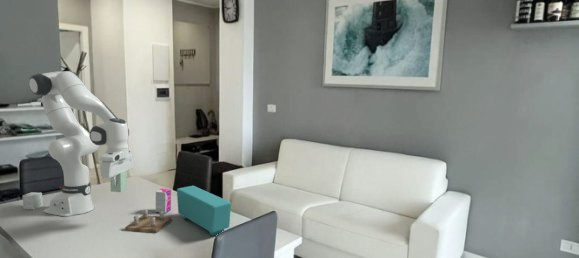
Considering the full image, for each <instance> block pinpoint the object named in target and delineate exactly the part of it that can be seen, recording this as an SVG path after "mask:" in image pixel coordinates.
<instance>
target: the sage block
mask: <svg viewBox="0 0 579 258" xmlns="http://www.w3.org/2000/svg"><path fill="white" fill-rule="evenodd" d="M109 179H110V178H109ZM115 179H116V181H117V184H116V185H112V181H111V179H110V192H113V193H123V192H124V191H126V190H128V171H123V172H121V173H119V175H116V178H115Z"/></svg>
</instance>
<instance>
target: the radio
mask: <svg viewBox="0 0 579 258" xmlns="http://www.w3.org/2000/svg"><path fill="white" fill-rule="evenodd" d="M176 196H177V198H176V199H177V212H178V214H179V215H181V216H183V220H186V219H189V221H191V222H193V223H194V224H196V225H198V226H200V227H201V228H202V229H205V230H207V231H208V233H209V235H211V236H214V235H219V234H218V233H220V232H222V231H224V232H225V229H229V228H230V224H231V210H232V202H231V201H228V199H227V200H226V199H224V198H222V197H220V196H218V195H215V194H213V193H210V192H209V191H206V190H204V189H201V188H200V187H197V186H195V185H189V186H184V187H180V188H179V187H178V188H177V189H176ZM220 234H221V233H220Z"/></svg>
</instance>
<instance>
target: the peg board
mask: <svg viewBox="0 0 579 258" xmlns="http://www.w3.org/2000/svg"><path fill="white" fill-rule="evenodd" d="M142 212H143V215H141V216H140V217H139V215H135V216H133V221H132V222H131V223H130V224H127V225H126V226H125V229H124V230H125V231H129V232H141V233H151V234H157V233H158V232H160V231H161V230H162V229H163V228H164V227H166V226H167V225H168V224H169V223H170V222H171V221H172V217H171V216H165V214H164V211H159V213H158V214H159V216H157V215H149V213H148V212H149V211H148V209H143V210H142Z"/></svg>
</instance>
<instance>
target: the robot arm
mask: <svg viewBox="0 0 579 258" xmlns="http://www.w3.org/2000/svg"><path fill="white" fill-rule="evenodd" d="M28 86H29V89H30V91H31V92H32V94H34V95H36V96H40V97H41V96H42V97H41V101H42V107H43V110H44V112H45V114H46V117H47V119H48V121H49V123H50V125H51V128H52V129H53V131H55V132H57V133H60V134H61V135H63V137H60V138H58V139H55V140H52V141H51V142H50V143H49V145H48V153H49V156H50V157H51V158H53V159H54V160H55V161H57V162H58V163H59V164H60V166H61V169H62V173H63V181H64V182H63V184H62V185H59V189H61V191H60V192H58V193H57V195H55V196H53V197H52V198H51V199H50V203H49V207H46V208H45V209H44V211H43V212H44V213H45V214H49V215H56V216H60V217H71V216H75V215H81V214H85V213H88V212H92V211H93V210H94V209H95V206H94V203H93V200H92V199H93V198H92V195H91V192H92V191H91V190H92V189H91V188H92V186H91V182H90V169H89V167H88V166H87V165H86V164H83V162H82V161H81V157H84V156H88V155H91V154H92V153H95V152H97V151H98V150H99V147H100V146H107V149H106V151H105V152H104V153H103V154H101V155H100V158H99V159H100V161H101V162H100V176H101V178H102V179H111V181H112V185H116V184H117V181H116V179H115V178H116V175H119V173H121V172H123V171H127V172H128V171H131V170H132V169H134V166H135V165H134V164H135V163H134V162H135V161H134V157H133V154H132V151H130V150H129V143H128V142H129V136H130V129H129V127H128V123H127V121H126V120H124V119H122V118H118V117H117V116H116V115H115V114H114V112H113V111H112V110H111V109H110V108H109V106H107V105H106V104H105V103H104V101H102V100H101V99H100V98H98V97H97V96H96V95H94V94H93V93H92V92H91V91H90V90H89V89H88V87H86V85H85V84H84V83H83V81H82V80H81V78H80V77H79V75H78V74H77V73H76V72H74V71H70V70H66V71H64V70H63V71H51V72H45V73H44V72H43V73H36V74H32V75H31V76H30V77H29V79H28ZM72 109H73V110H78V111H83V112H89V113H92V114H95V115H96V116H98V117H99V118H100V120H102V122H103V123H101V124H97V125H94V126H92V127H91V129H90V131H89V132H88V131H87V130H86V129H85V128H84V127H83V126H82V125H81V124H80V123H79V121H78V120H77V118H76V116H75V114H74V112H73V110H72Z"/></svg>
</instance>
